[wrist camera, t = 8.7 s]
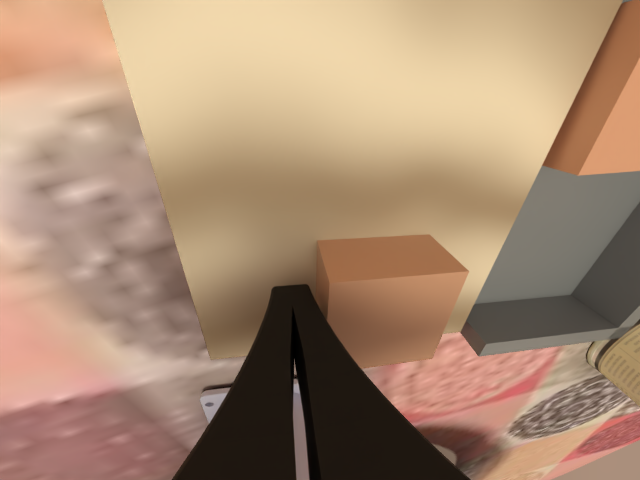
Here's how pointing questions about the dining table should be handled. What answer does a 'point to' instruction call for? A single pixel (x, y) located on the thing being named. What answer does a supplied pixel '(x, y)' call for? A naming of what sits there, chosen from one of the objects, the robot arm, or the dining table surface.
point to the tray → (563, 266)
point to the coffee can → (620, 361)
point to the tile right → (605, 106)
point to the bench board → (344, 130)
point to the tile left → (387, 295)
